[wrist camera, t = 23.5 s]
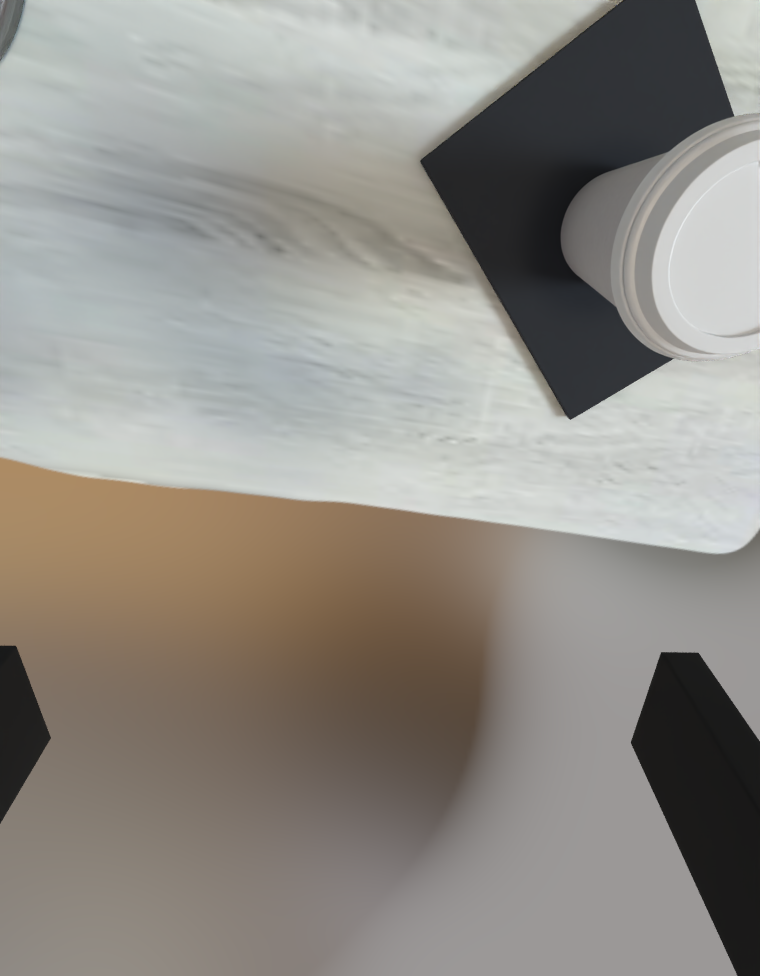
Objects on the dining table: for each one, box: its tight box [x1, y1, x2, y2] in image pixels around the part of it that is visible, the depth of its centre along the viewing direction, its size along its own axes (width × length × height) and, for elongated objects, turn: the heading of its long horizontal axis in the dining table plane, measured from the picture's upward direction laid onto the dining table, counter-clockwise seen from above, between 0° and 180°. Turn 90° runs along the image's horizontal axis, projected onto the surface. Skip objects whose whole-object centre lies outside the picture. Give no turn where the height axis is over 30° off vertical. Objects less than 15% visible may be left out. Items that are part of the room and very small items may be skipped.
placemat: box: [421, 0, 734, 420], centre depth 35 cm, size 20×16×1 cm
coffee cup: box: [561, 113, 760, 361], centre depth 29 cm, size 10×10×15 cm
